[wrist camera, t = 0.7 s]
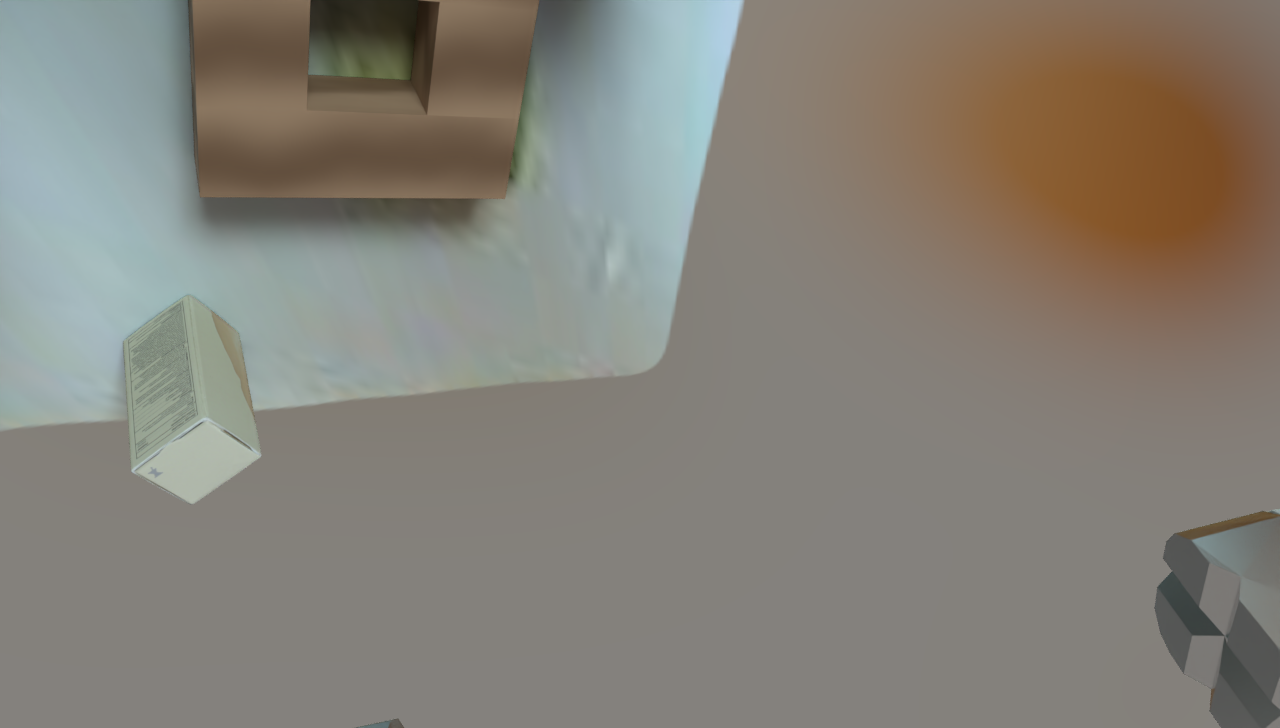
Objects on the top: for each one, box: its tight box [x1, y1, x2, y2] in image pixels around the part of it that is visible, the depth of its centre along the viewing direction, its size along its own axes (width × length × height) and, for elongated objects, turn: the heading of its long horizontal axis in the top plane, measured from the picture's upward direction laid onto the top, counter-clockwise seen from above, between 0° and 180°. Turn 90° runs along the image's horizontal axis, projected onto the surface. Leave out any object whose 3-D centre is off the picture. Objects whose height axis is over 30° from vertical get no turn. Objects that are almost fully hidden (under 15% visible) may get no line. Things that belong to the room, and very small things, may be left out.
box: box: [123, 295, 261, 504], centre depth 57 cm, size 5×4×11 cm
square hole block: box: [188, 0, 539, 199], centre depth 51 cm, size 16×16×4 cm
